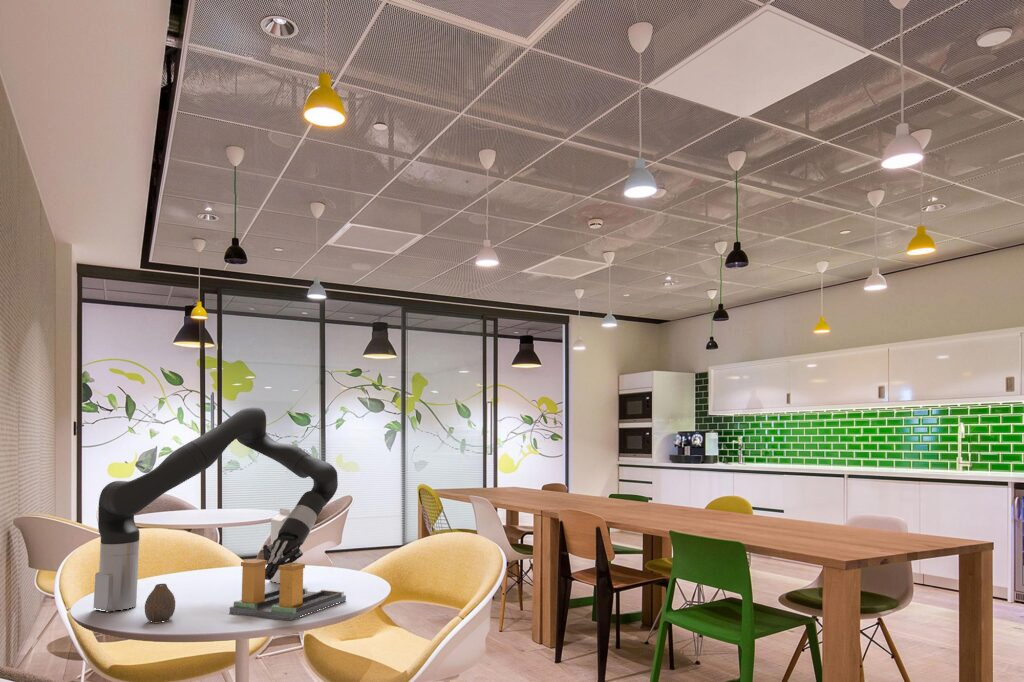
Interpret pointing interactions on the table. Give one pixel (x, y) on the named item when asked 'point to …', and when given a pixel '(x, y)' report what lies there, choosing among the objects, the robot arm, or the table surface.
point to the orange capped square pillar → (253, 580)
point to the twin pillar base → (289, 598)
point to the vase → (160, 604)
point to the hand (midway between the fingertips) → (266, 578)
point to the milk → (275, 527)
